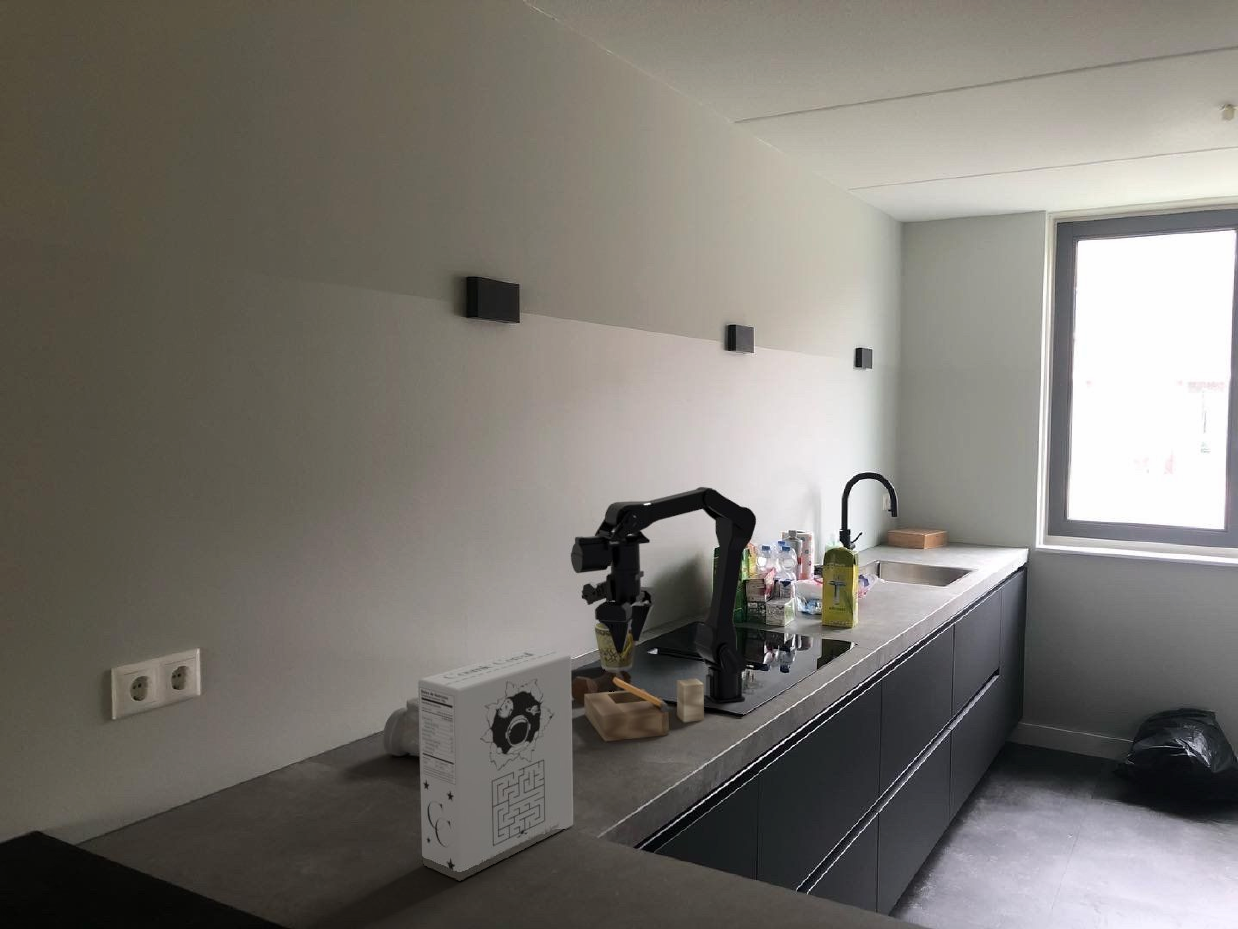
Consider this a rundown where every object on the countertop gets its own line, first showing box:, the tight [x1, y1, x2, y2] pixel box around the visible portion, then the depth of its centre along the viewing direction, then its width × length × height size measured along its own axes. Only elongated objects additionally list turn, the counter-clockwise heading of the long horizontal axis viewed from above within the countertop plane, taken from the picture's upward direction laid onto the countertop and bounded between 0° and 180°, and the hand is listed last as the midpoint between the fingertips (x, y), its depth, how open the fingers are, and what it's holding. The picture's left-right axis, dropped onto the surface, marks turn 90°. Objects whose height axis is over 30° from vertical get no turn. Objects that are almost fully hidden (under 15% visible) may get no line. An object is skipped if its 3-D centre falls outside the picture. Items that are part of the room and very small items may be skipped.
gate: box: [613, 677, 666, 708], centre depth 181 cm, size 11×3×1 cm, turn 106°
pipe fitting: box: [381, 697, 420, 758], centre depth 168 cm, size 12×8×10 cm
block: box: [583, 688, 670, 742], centre depth 185 cm, size 12×16×5 cm
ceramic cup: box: [594, 621, 637, 672], centre depth 223 cm, size 13×10×10 cm
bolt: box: [571, 670, 632, 705], centre depth 205 cm, size 6×5×15 cm
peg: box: [676, 678, 705, 723], centre depth 188 cm, size 4×4×7 cm
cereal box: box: [417, 646, 574, 872], centre depth 134 cm, size 22×8×25 cm, turn 141°
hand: (628, 646), depth 191 cm, fingers open, 9 cm apart
